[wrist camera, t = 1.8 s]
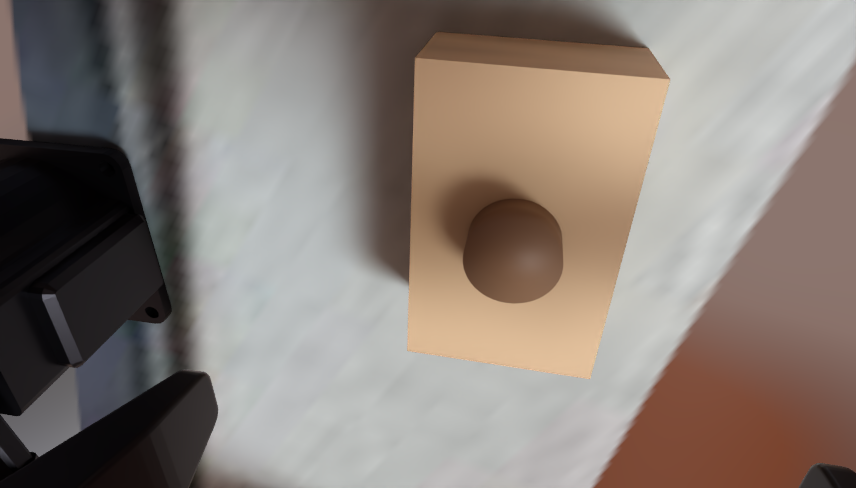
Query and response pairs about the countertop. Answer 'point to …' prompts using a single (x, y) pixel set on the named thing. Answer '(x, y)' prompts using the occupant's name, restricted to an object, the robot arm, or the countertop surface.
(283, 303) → the countertop surface
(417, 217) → the oak lid
